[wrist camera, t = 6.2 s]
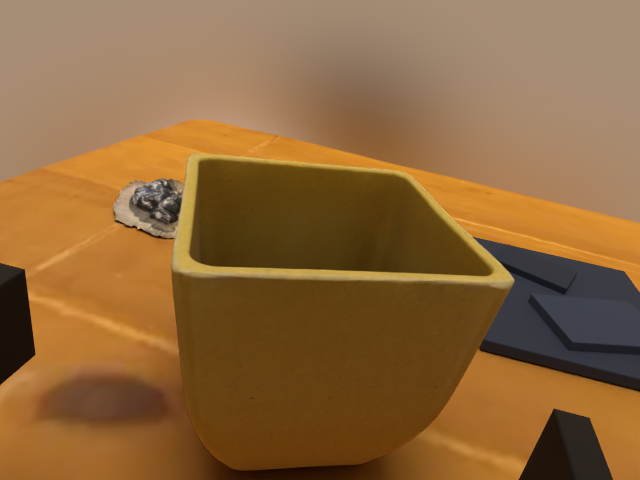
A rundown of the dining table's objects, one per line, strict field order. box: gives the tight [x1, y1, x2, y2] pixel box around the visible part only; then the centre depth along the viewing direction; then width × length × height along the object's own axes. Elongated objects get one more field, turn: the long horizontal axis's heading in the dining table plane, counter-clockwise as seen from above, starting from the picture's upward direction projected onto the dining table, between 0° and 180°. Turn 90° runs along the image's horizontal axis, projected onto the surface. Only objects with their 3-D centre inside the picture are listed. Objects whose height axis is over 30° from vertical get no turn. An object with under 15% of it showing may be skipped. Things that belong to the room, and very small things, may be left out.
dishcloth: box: [473, 237, 640, 390], centre depth 30 cm, size 11×13×1 cm
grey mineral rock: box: [113, 179, 184, 239], centre depth 33 cm, size 7×8×2 cm
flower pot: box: [171, 153, 514, 471], centre depth 17 cm, size 9×9×9 cm
